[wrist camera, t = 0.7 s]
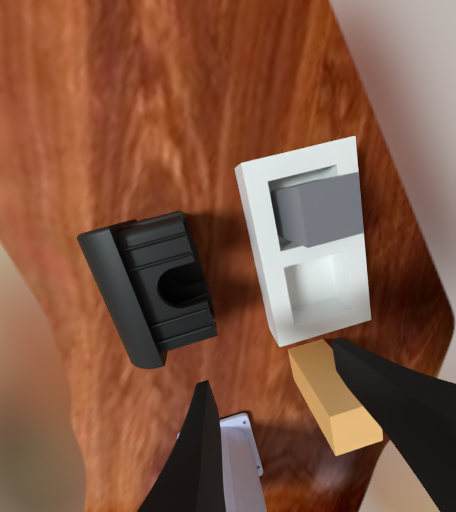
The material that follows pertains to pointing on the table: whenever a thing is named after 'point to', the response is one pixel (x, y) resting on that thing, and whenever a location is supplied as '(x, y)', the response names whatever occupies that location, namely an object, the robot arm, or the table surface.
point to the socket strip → (294, 266)
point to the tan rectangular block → (332, 399)
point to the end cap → (151, 285)
